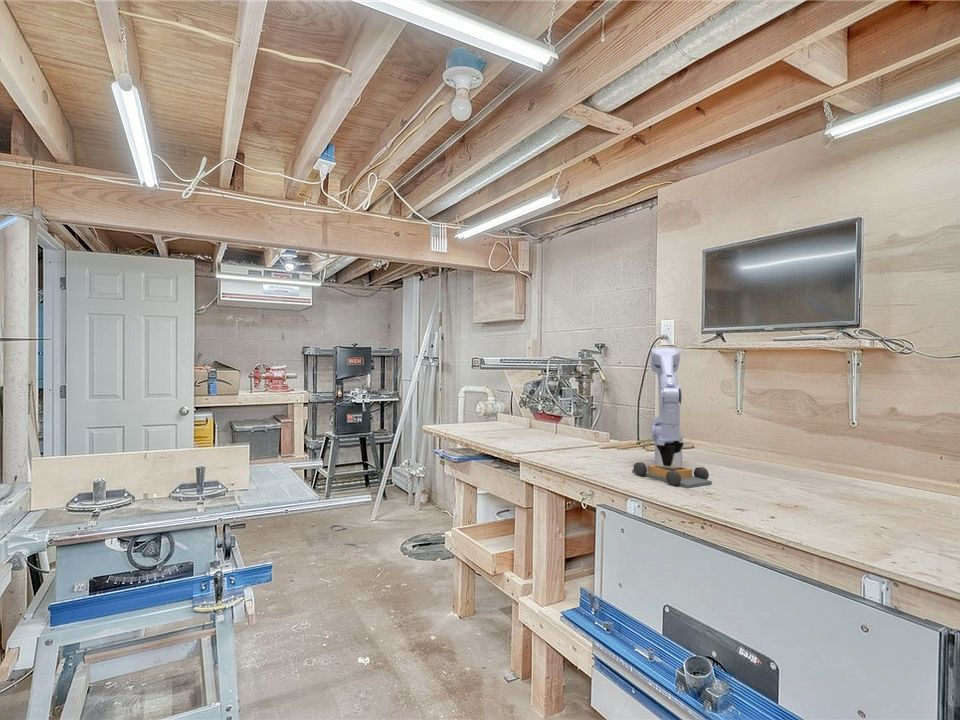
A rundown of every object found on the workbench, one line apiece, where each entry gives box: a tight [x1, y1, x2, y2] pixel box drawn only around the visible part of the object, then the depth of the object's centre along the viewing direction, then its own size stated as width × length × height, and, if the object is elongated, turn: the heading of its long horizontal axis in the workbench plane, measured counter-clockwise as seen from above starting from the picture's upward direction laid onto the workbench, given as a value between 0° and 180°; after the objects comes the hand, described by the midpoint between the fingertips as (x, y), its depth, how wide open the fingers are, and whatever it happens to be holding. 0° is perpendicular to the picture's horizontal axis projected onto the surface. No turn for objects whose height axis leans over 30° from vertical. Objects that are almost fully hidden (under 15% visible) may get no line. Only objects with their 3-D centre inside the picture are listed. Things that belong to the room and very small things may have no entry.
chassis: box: [631, 461, 713, 489], centre depth 160 cm, size 14×23×4 cm, turn 27°
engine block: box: [657, 451, 681, 471], centre depth 160 cm, size 4×6×6 cm, turn 44°
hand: (670, 464), depth 160 cm, fingers closed on engine block, 4 cm apart
